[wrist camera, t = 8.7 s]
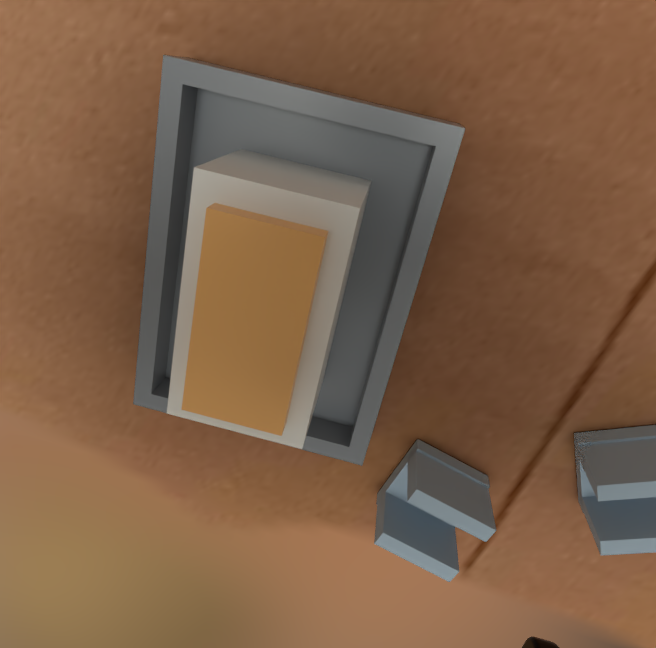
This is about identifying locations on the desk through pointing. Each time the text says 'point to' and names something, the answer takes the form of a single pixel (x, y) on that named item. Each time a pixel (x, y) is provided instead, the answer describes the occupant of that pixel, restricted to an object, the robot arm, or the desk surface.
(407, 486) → the clip
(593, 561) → the desk surface
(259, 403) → the white orange block
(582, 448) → the clip
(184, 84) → the grey rectangular tray
